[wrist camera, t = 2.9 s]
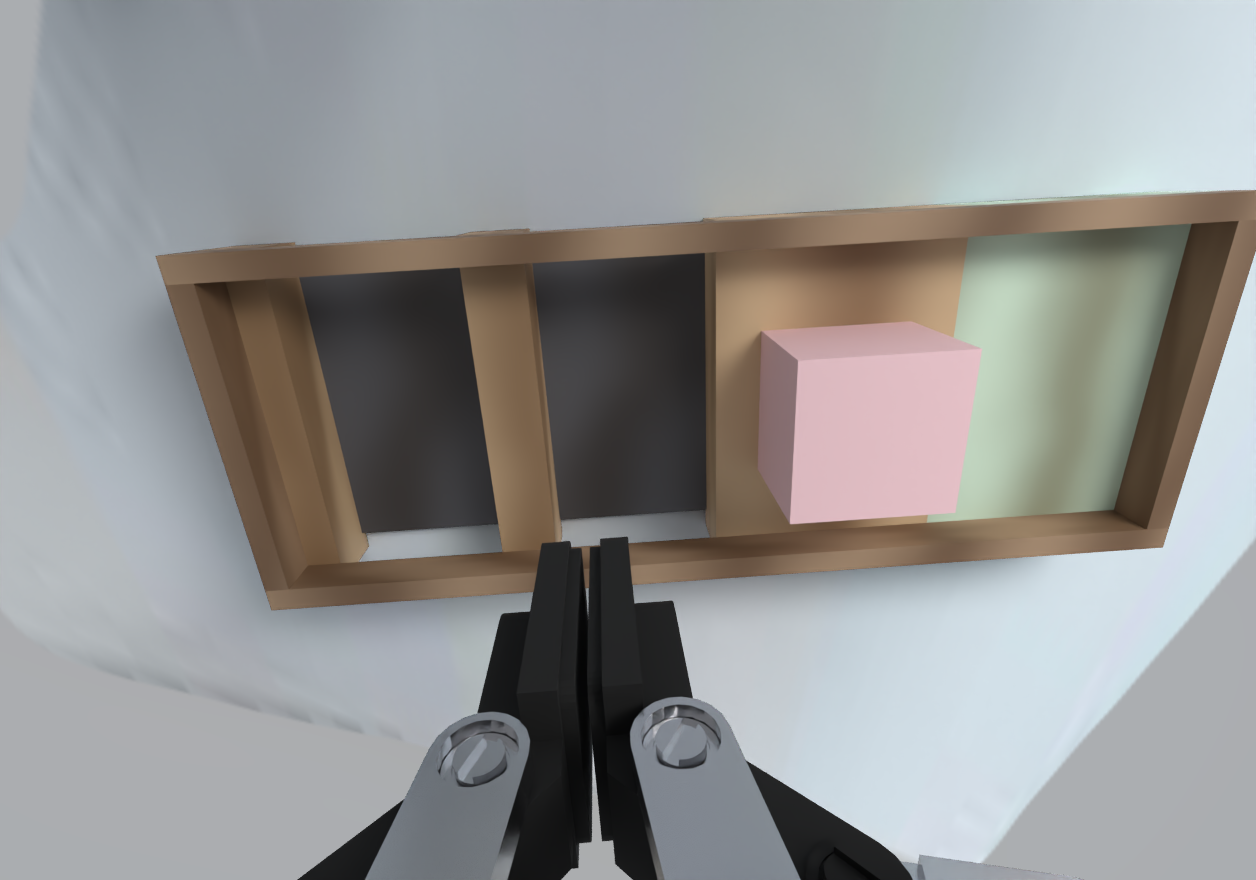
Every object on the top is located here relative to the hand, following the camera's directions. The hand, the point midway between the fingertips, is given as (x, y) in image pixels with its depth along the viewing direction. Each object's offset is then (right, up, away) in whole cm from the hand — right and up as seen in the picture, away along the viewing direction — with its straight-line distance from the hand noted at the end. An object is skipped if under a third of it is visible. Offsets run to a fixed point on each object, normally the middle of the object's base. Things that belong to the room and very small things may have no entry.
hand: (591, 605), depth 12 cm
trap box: (+4, +5, +11) cm, 13 cm away
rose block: (+8, +5, +9) cm, 13 cm away
